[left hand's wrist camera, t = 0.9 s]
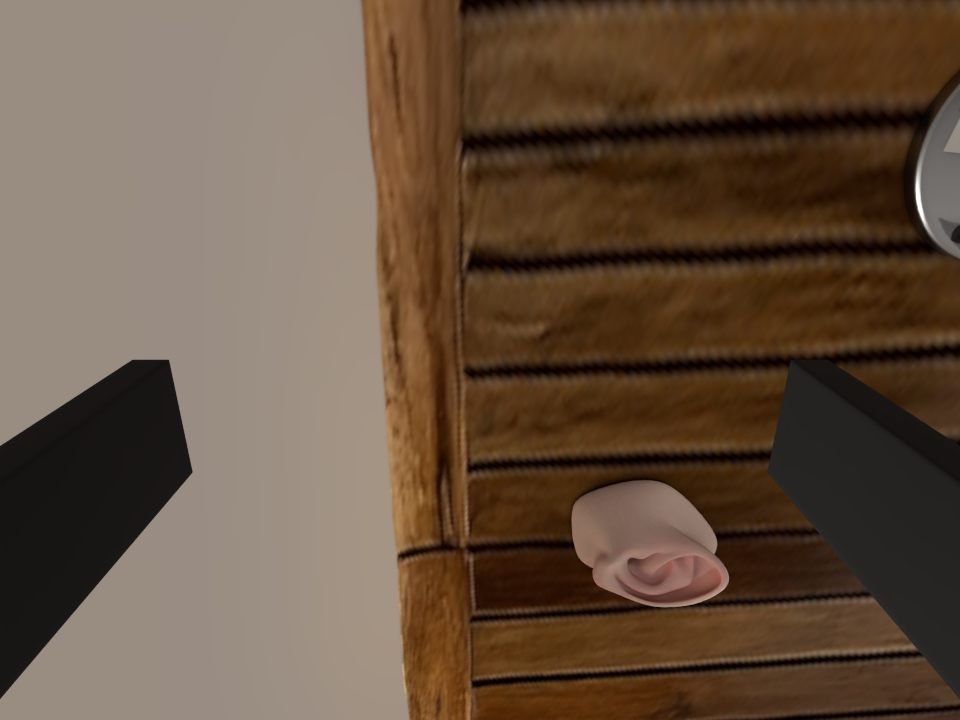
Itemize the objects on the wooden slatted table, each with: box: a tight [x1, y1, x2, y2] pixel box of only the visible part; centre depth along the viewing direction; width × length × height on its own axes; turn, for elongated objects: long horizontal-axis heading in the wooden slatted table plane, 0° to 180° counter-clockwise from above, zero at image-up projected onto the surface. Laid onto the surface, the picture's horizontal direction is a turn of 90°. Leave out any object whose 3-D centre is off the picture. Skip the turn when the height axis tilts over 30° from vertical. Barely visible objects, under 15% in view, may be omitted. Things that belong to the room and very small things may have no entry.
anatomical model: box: [572, 480, 729, 607], centre depth 50 cm, size 13×4×12 cm
